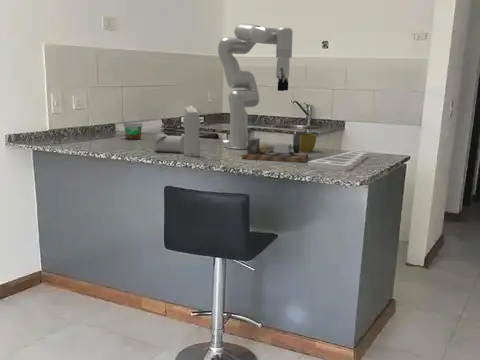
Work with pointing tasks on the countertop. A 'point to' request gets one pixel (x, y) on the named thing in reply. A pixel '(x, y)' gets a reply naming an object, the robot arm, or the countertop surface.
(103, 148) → the countertop surface
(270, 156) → the press base
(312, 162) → the holder
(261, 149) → the nut
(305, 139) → the flower pot
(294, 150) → the ram
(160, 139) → the bent grey cylinder
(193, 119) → the tall pale column
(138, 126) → the food container
